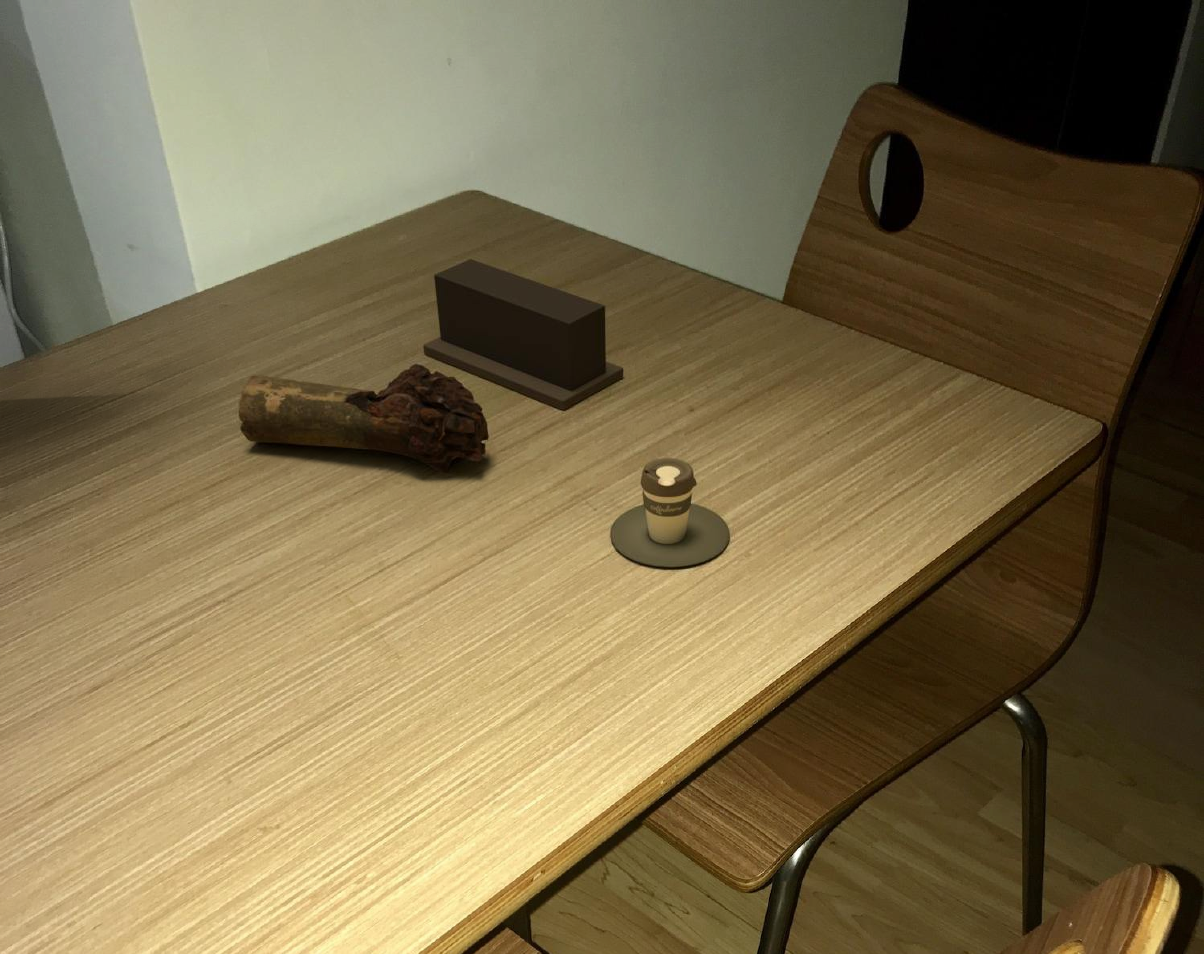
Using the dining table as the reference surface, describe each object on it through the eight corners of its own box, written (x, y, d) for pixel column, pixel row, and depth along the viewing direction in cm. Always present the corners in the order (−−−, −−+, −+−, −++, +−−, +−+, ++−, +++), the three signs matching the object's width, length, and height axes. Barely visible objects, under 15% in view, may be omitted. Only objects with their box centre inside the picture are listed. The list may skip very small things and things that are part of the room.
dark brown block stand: (423, 354, 103) (415, 279, 99) (485, 324, 107) (479, 251, 102) (563, 411, 96) (560, 332, 92) (623, 377, 99) (623, 300, 95)
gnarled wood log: (243, 453, 92) (226, 377, 88) (287, 410, 97) (272, 337, 93) (474, 486, 88) (467, 409, 84) (508, 440, 93) (503, 365, 89)
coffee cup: (743, 484, 88) (747, 416, 84) (773, 585, 79) (779, 514, 76) (567, 493, 87) (565, 426, 84) (578, 596, 79) (576, 525, 75)
